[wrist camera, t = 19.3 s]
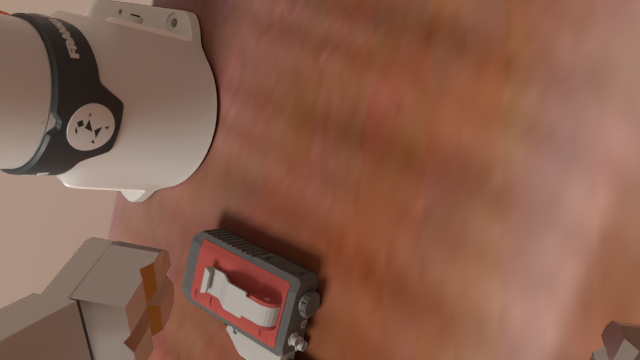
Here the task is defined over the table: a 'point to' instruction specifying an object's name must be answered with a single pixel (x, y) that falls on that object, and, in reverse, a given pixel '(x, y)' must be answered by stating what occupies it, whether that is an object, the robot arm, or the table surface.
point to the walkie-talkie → (251, 294)
